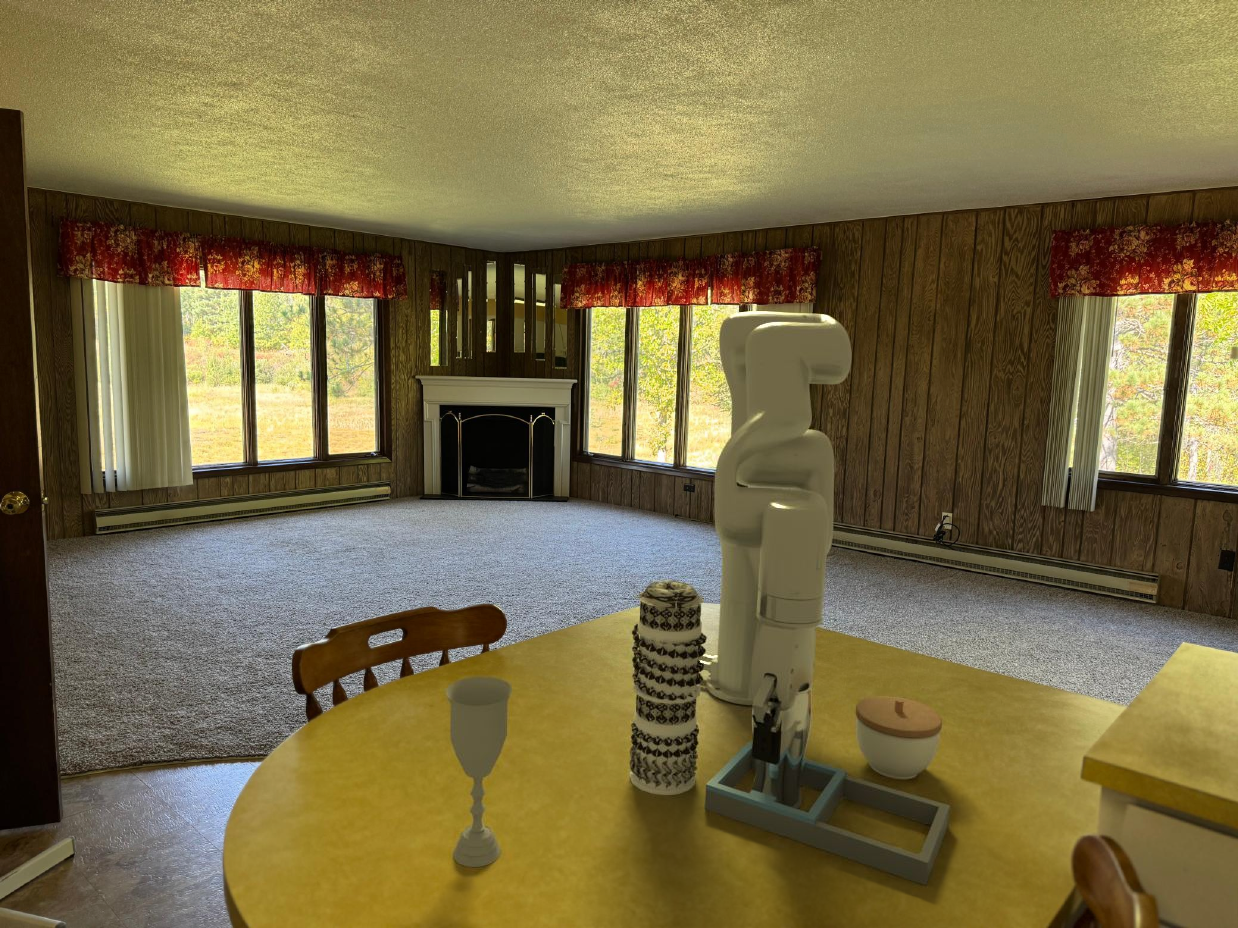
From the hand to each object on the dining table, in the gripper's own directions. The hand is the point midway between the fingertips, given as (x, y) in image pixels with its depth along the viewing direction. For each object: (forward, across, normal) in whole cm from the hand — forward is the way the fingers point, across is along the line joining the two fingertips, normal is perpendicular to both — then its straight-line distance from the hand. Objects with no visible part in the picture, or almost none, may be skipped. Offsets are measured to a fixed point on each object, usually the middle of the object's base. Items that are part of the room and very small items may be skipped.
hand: (780, 743), depth 98 cm
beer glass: (+7, 0, 0) cm, 8 cm away
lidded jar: (+8, -17, +10) cm, 21 cm away
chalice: (+7, +28, -23) cm, 37 cm away
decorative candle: (+7, +3, -14) cm, 16 cm away
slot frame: (+7, 0, +6) cm, 9 cm away
